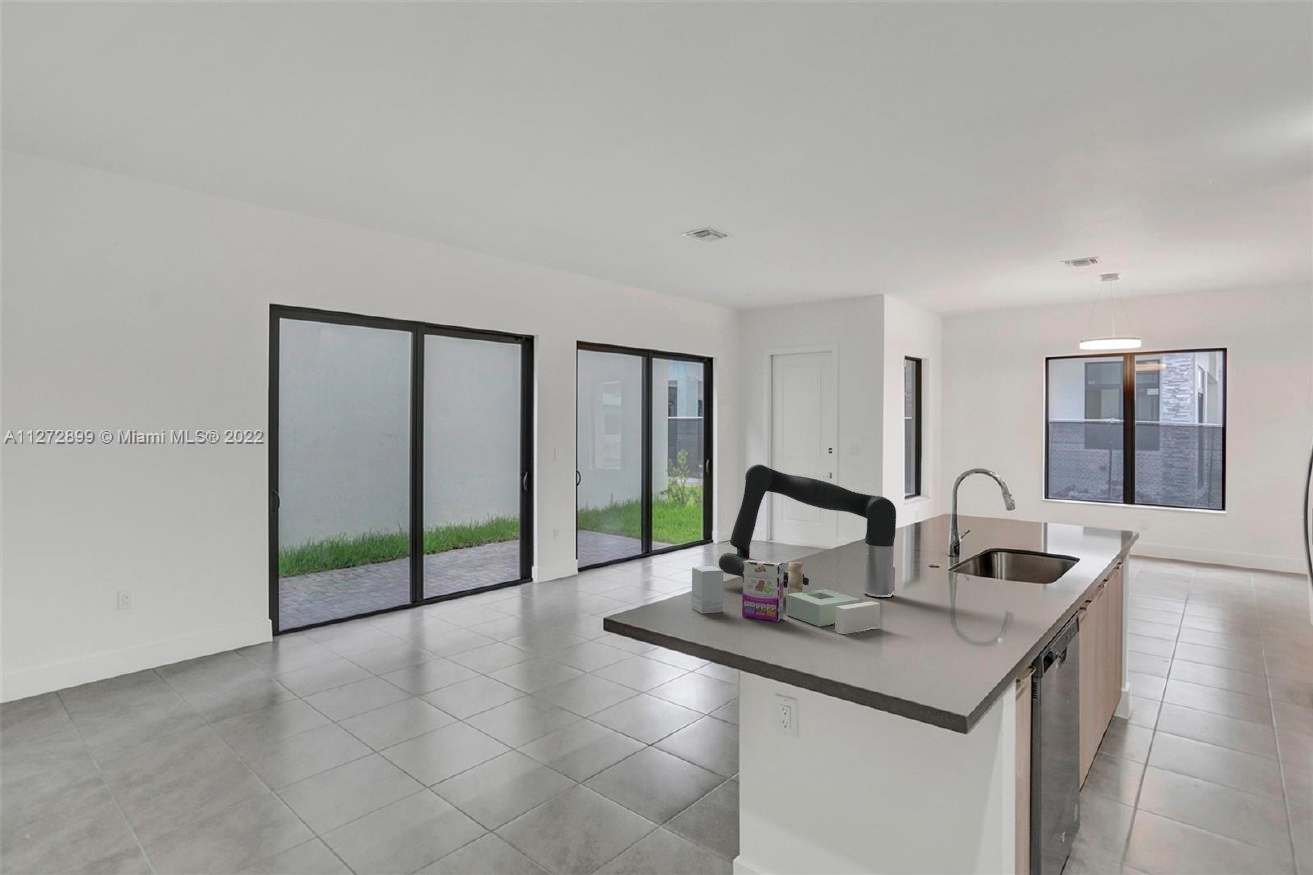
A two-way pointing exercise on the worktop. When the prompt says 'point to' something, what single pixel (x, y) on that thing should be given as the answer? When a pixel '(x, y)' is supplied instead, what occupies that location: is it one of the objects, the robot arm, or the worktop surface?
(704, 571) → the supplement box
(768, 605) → the candy bar box
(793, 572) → the birch dowel
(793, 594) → the socket block
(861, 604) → the backstop board
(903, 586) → the worktop surface
